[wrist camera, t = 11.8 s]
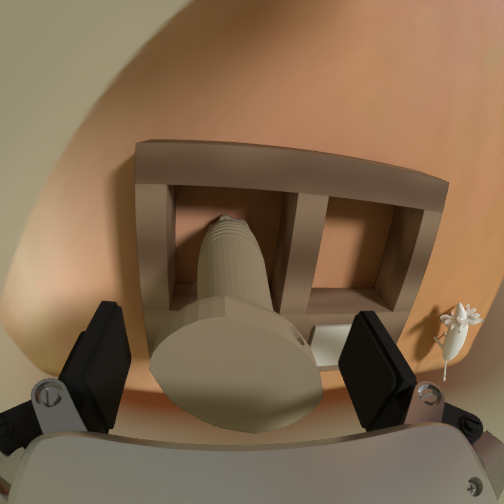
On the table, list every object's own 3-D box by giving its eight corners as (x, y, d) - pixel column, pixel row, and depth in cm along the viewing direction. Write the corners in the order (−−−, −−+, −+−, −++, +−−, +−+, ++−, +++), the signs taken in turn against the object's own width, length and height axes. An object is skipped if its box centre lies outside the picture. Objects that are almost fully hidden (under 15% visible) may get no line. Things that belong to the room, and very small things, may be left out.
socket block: (151, 139, 19) (134, 143, 15) (420, 171, 22) (451, 183, 18) (158, 339, 27) (151, 371, 23) (371, 339, 29) (387, 366, 25)
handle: (231, 279, 24) (248, 444, 11) (176, 222, 22) (122, 369, 8) (278, 242, 24) (347, 392, 10) (225, 181, 21) (234, 286, 8)
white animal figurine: (435, 297, 28) (459, 321, 24) (467, 286, 28) (490, 307, 24) (415, 369, 33) (431, 393, 29) (445, 357, 33) (461, 379, 29)
